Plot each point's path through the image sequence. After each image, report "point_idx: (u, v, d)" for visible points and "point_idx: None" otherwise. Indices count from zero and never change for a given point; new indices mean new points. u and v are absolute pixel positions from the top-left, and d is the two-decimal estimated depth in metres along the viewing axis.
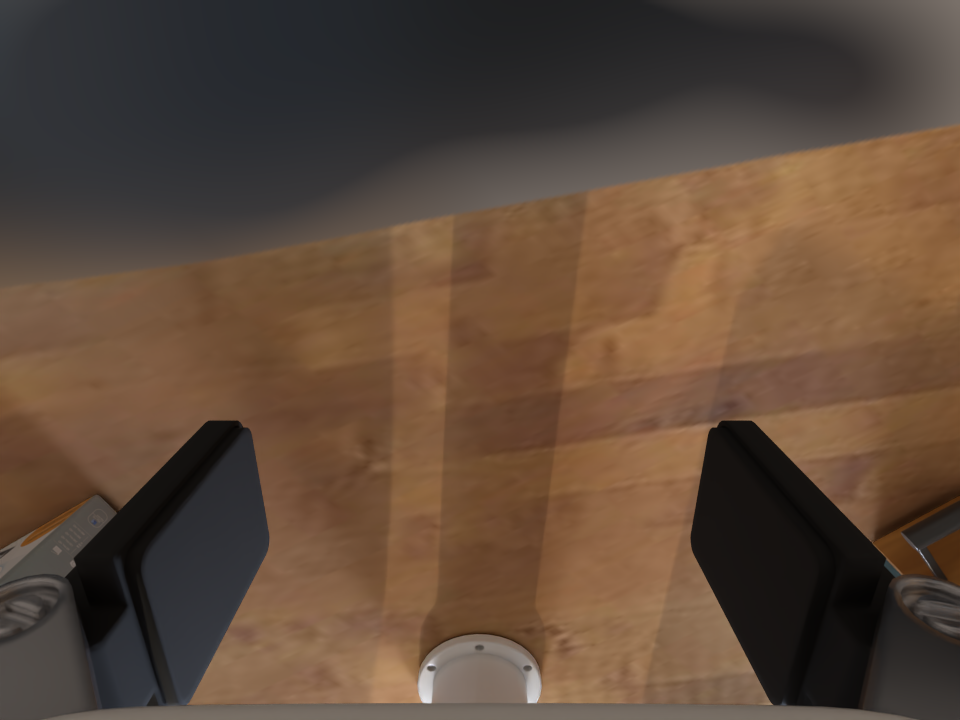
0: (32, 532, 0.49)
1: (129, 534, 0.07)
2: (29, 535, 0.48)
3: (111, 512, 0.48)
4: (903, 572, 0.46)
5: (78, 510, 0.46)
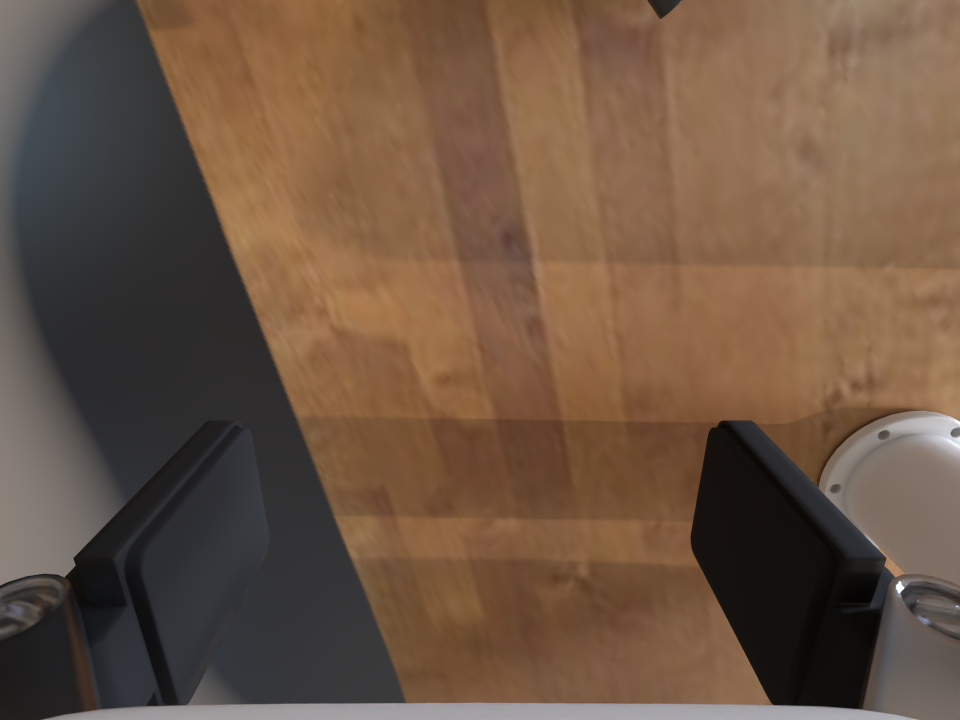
0: None
1: (129, 534, 0.07)
2: None
3: None
4: None
5: None
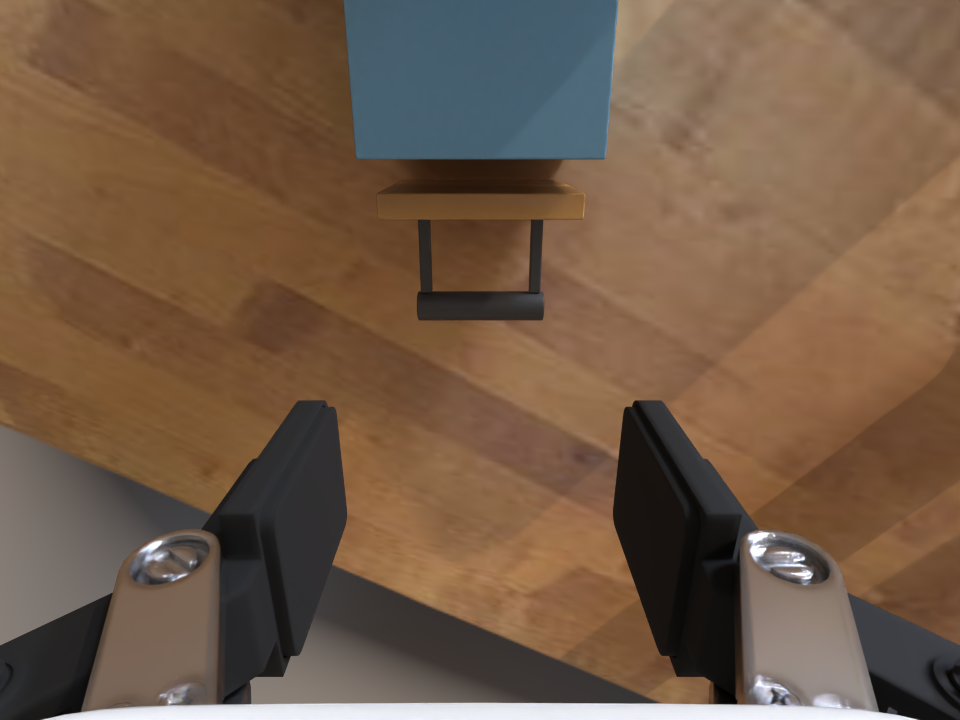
0: None
1: (260, 495, 0.08)
2: None
3: None
4: None
5: None
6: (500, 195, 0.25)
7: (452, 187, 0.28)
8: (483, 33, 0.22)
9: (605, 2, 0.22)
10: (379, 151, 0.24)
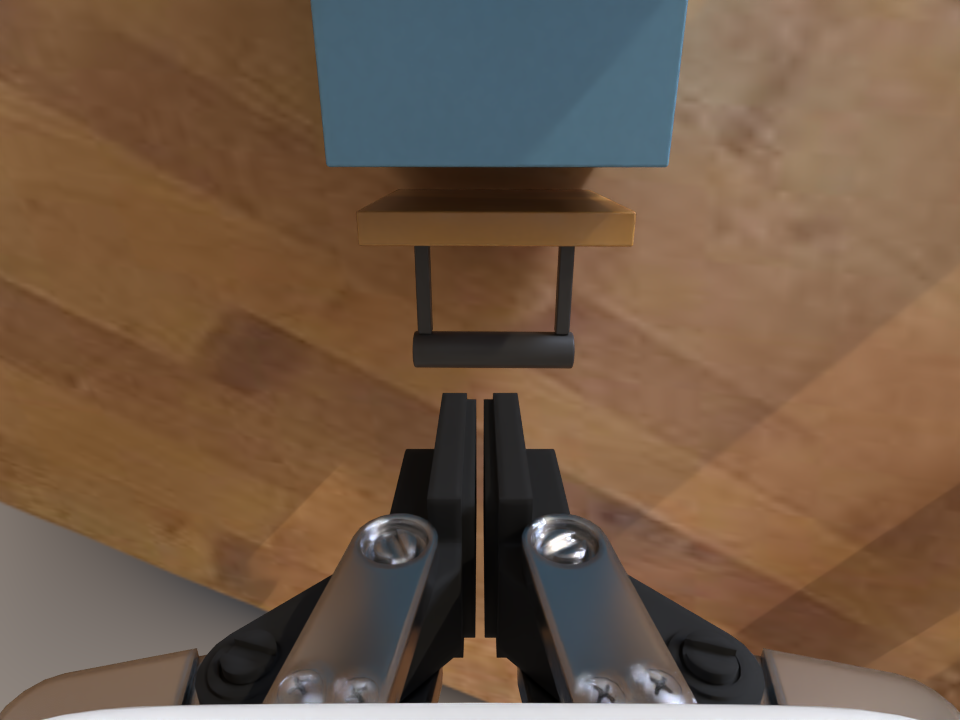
0: None
1: (455, 481, 0.09)
2: None
3: None
4: None
5: None
6: (522, 214, 0.19)
7: (458, 201, 0.22)
8: None
9: None
10: (358, 156, 0.17)
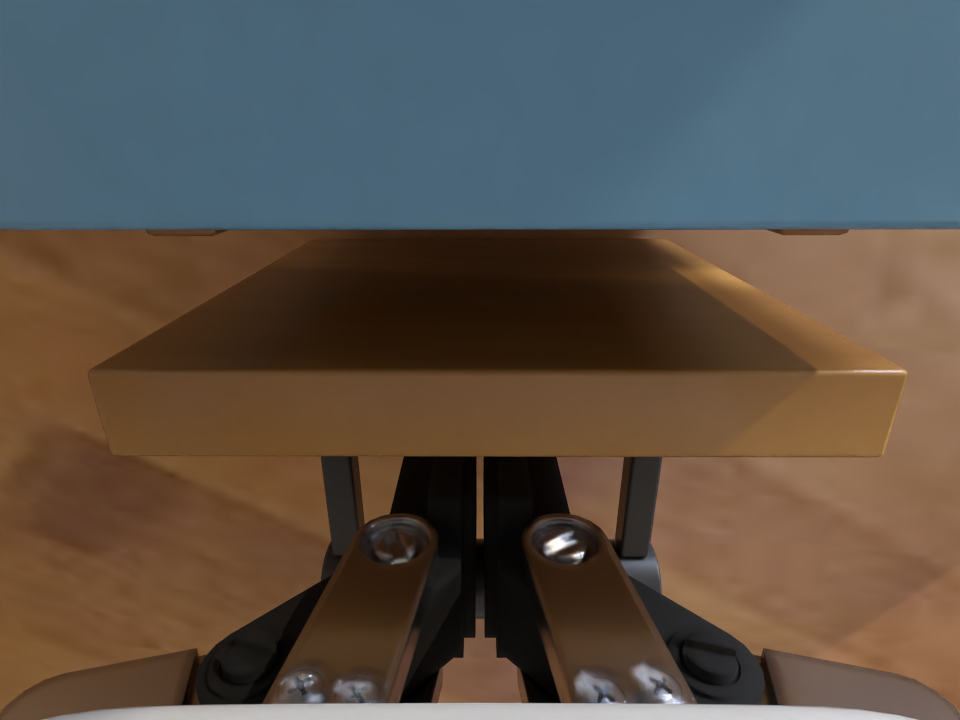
0: None
1: (455, 482, 0.09)
2: None
3: None
4: None
5: None
6: (575, 379, 0.06)
7: (407, 295, 0.10)
8: None
9: None
10: None
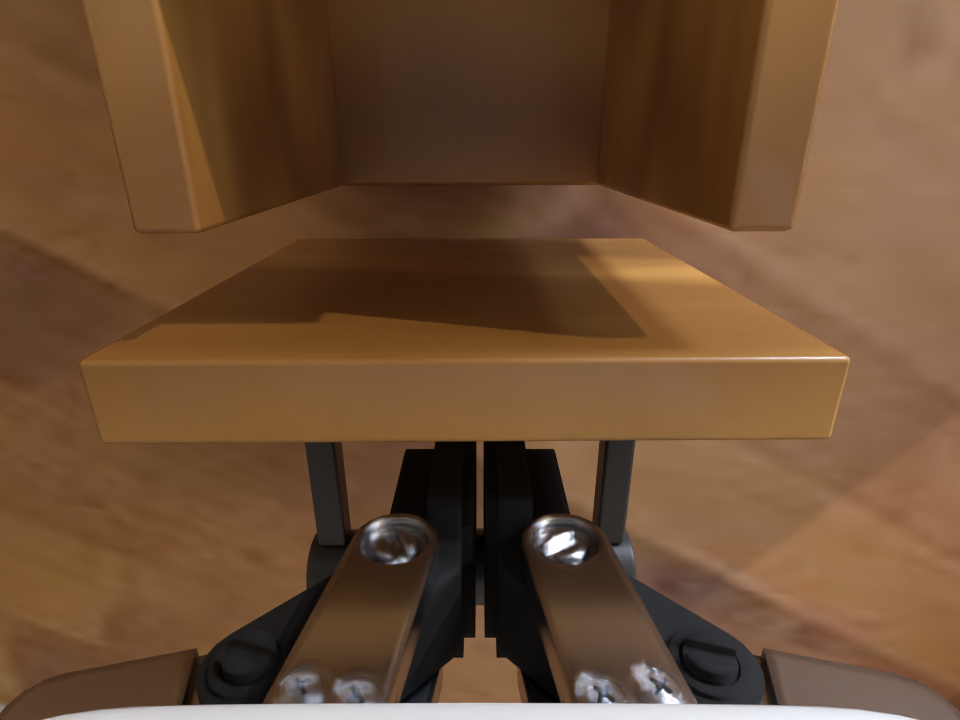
0: None
1: (455, 482, 0.09)
2: None
3: None
4: None
5: None
6: (540, 367, 0.07)
7: (388, 291, 0.10)
8: None
9: None
10: None
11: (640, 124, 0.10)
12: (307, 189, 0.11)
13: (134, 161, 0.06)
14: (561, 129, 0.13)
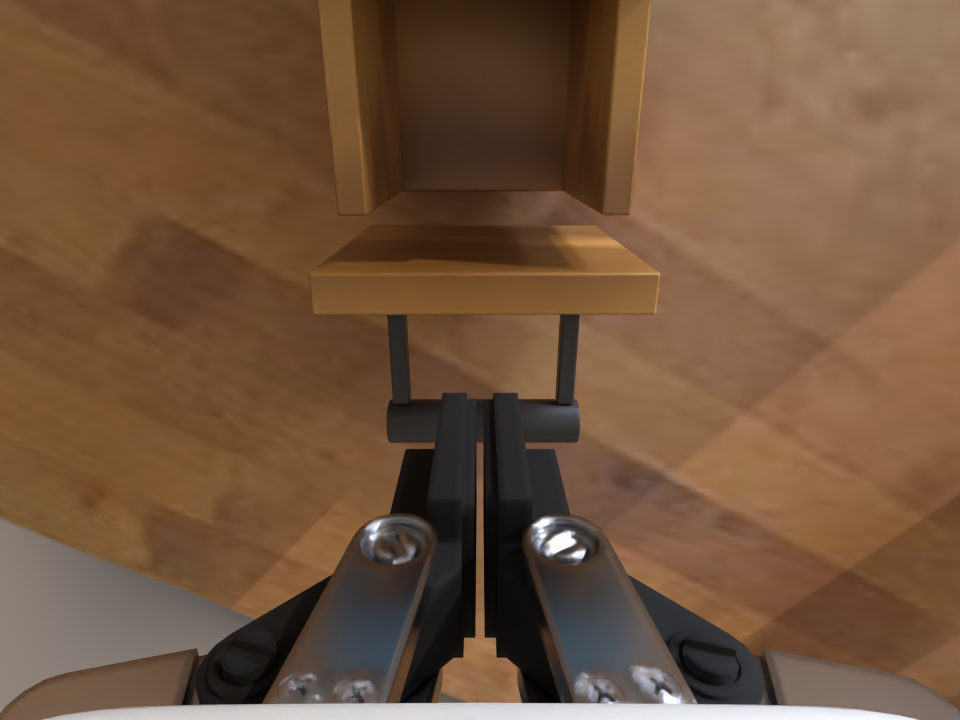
0: None
1: (455, 481, 0.09)
2: None
3: None
4: None
5: None
6: (518, 277, 0.15)
7: (439, 250, 0.18)
8: None
9: None
10: None
11: (578, 159, 0.18)
12: (391, 194, 0.19)
13: (342, 184, 0.14)
14: (539, 156, 0.21)
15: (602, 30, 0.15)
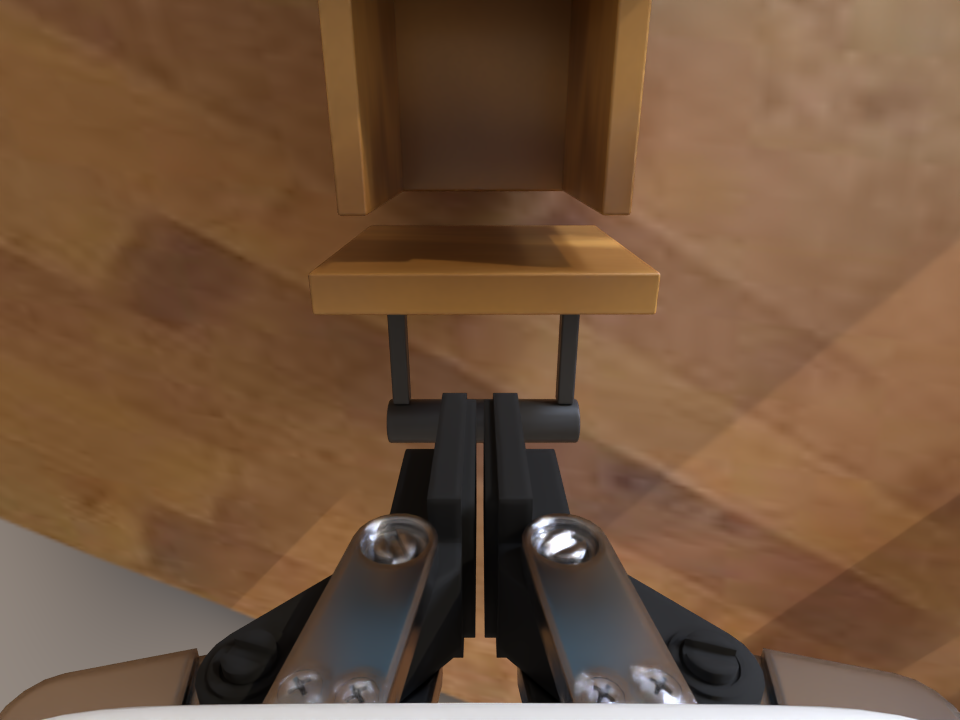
0: None
1: (455, 481, 0.09)
2: None
3: None
4: None
5: None
6: (518, 277, 0.15)
7: (439, 250, 0.18)
8: None
9: None
10: None
11: (578, 159, 0.18)
12: (391, 194, 0.19)
13: (342, 184, 0.14)
14: (539, 156, 0.21)
15: (602, 30, 0.15)
